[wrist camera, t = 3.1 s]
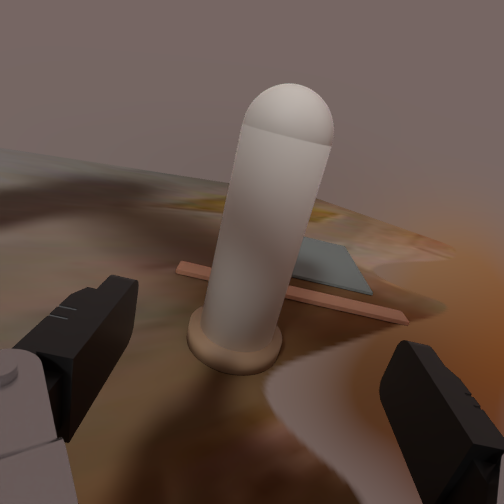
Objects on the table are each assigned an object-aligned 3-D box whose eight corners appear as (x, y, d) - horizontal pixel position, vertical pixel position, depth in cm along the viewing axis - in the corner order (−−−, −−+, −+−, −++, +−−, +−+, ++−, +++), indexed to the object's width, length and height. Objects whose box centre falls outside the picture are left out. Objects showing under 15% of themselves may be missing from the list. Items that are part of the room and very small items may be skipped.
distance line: (175, 273, 31) (176, 269, 31) (180, 264, 33) (181, 260, 33) (407, 326, 32) (409, 322, 32) (400, 314, 34) (401, 311, 34)
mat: (224, 261, 36) (225, 258, 36) (235, 222, 49) (236, 220, 49) (371, 295, 37) (372, 292, 37) (344, 248, 50) (344, 246, 50)
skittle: (176, 362, 21) (234, 60, 15) (196, 307, 27) (243, 76, 21) (279, 384, 21) (377, 97, 15) (276, 325, 27) (345, 102, 21)
